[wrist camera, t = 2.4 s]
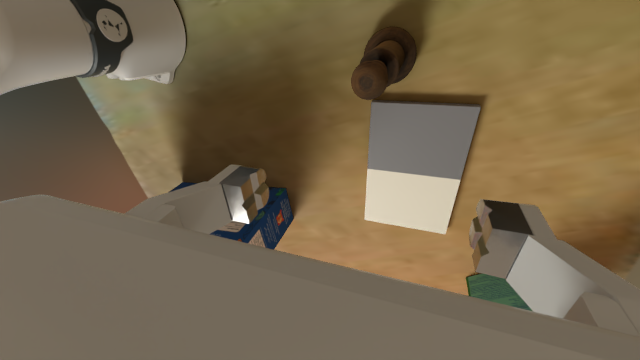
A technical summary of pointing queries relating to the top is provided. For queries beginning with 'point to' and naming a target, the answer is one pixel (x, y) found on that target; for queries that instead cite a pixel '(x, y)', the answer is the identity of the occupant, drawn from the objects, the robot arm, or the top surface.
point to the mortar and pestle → (384, 62)
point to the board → (417, 161)
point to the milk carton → (494, 290)
